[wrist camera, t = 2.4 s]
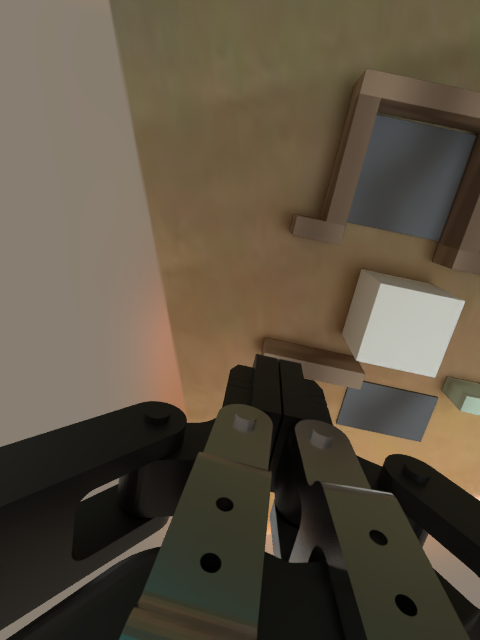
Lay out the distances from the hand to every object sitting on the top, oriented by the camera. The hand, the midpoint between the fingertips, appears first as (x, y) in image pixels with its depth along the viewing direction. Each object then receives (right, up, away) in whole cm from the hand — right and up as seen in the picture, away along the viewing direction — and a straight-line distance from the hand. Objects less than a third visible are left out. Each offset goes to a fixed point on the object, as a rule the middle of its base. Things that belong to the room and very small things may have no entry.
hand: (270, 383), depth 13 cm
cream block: (+9, +3, +15) cm, 18 cm away
